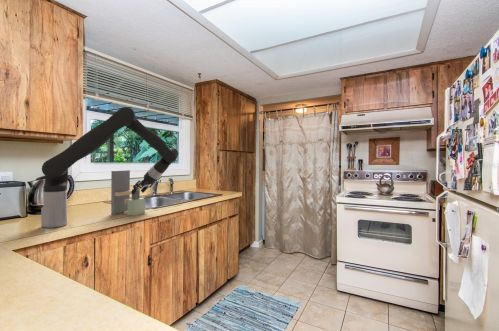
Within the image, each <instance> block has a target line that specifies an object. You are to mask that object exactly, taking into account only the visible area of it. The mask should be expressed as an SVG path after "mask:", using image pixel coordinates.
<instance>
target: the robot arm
mask: <svg viewBox="0 0 499 331" xmlns="http://www.w3.org/2000/svg"><path fill="white" fill-rule="evenodd" d="M124 127H126V129H129V130H131V131H132V132H134V133H135V134H136V135H137V136H139V137H140V139H142V140H143V141H145V142H146V143H147V144H148V145H149V147H151V148H153V149H154V150H155V151H156V152H157V153H158V155H159V156H160V158H159V159H158V160H157V161H156V162H155V164H153V165H152V166H151V167H150V168H149V169H148V170H147V172H145V174H144V175H143V179H142V180H138V181H137V182H136V183H135V184H134V185H133V186H132V189H133V190H132V189H131V190H132V191H131V193H132V194H135V193H136V192H137V191H138V190H139V189H140V192H142V194H143V193H145V192H146V191H147V190H148V189H149V188H150V189H151V188H152V187H153V186H154V185H155V183H156V182H157V181H158V180H159V179H160V178H161V177H162V175H163V174H164V173H165V172H166V170H168V168H169V167H170V166H171V164H173V163H174V162H175V161H176V160H177V159H178V158H179V150H178V149H176V148H174V147H170V148H169V146H167V143H166V142H165V141H164V139H162V138H161V137H160V136H159V135H158V134H156V133H155V132H154V131H152V130H150V129H149V128H148V127H146V126H145V125H143V123H142V122H141V121H140V120H139V119H138V118H137V117H136V113H135V110H134V109H132V108H130V107H127V106H123V107H121V108H118V109H117V110H116V111H115V112H114V113H113V114H112V115H111V116H109V118H107V119H106V120H104V121H103V122H101V123H100V124H98V125H96V126H94V128H92V129H90V130H89V131H88V132H85V134H83V135H82V136H80V137H79V138H78V139H76V140H75V141H74V142H73V143H71V144H70V145H69V146H68V147H67V148H65V149H64V150H63V151H61V152H60V153H58V154H56V155H55V156H52V157H51V158H49V159H47V160H45V161H44V162H43V163H42V166H41V172H42V175H44V184H43V192H42V193H43V194H42V195H43V199H42V200H43V201H42V202H43V206H42V207H41V208H40V210H41V211H40V212H41V213H40V217H41V221H40V222H41V224H40V226H41V228H46V229H52V228H59V227H64V226H66V225H68V183H69V182H68V181H69V180H68V179H69V169H70V168H71V167H72V166H74V164H75V163H76V162H78V161H79V160H81V159H84V158H85V157H87V156H89V155H91V154H92V153H94V152H96V151H97V150H99V149H100V148H101V147H103V146H104V145H105V144H106V143H107V142H108V141H109V140H110V139H111V138H112V136H114V134H116V133H117V132H118V131H119V130H121V129H122V128H124ZM132 194H131V195H132Z"/></svg>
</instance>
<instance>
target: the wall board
mask: <svg viewBox="0 0 499 331" xmlns="http://www.w3.org/2000/svg"><path fill="white" fill-rule="evenodd" d="M110 172H111V175H110V176H111V179H110V180H111V182H110V183H111V184H110V185H111V188H110V189H111V190H110V191H111V192H110V194H111V196H110V198H111V199H110V200H111V201H110V203H111V204H110V205H111V207H110V209H111V210H110V212H111V214H110V215H117V214H120V213H121V214H122V213H124V211H128V204H125V199H128V198H131V196H130V195H132V193H131V191H132V189H131V190H130V188H131V186H130V184H131V183H130V182H131V181H130V180H131V179H130V177H131V176H130V175H131V171H130V170H129V169H128V170H127V169H126V170H123V169H122V170H111V171H110Z"/></svg>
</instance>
